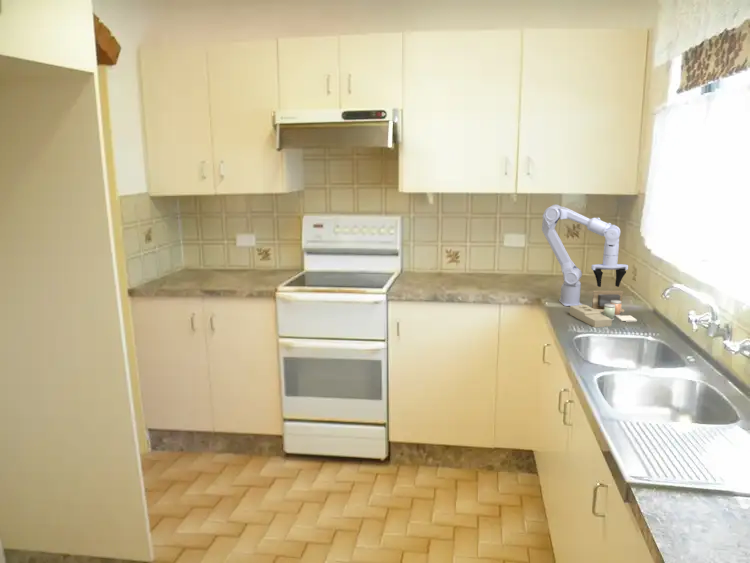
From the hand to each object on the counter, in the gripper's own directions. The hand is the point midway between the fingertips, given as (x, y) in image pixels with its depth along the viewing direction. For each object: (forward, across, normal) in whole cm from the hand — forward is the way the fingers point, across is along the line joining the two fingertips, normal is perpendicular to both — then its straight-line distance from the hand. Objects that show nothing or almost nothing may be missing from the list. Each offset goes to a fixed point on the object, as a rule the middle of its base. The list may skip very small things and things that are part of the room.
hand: (608, 286), depth 243 cm
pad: (+9, -2, +16) cm, 19 cm away
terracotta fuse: (+9, 0, +11) cm, 14 cm away
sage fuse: (+9, +5, +16) cm, 19 cm away
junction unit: (+9, +1, +4) cm, 10 cm away
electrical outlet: (+10, +13, +17) cm, 23 cm away
